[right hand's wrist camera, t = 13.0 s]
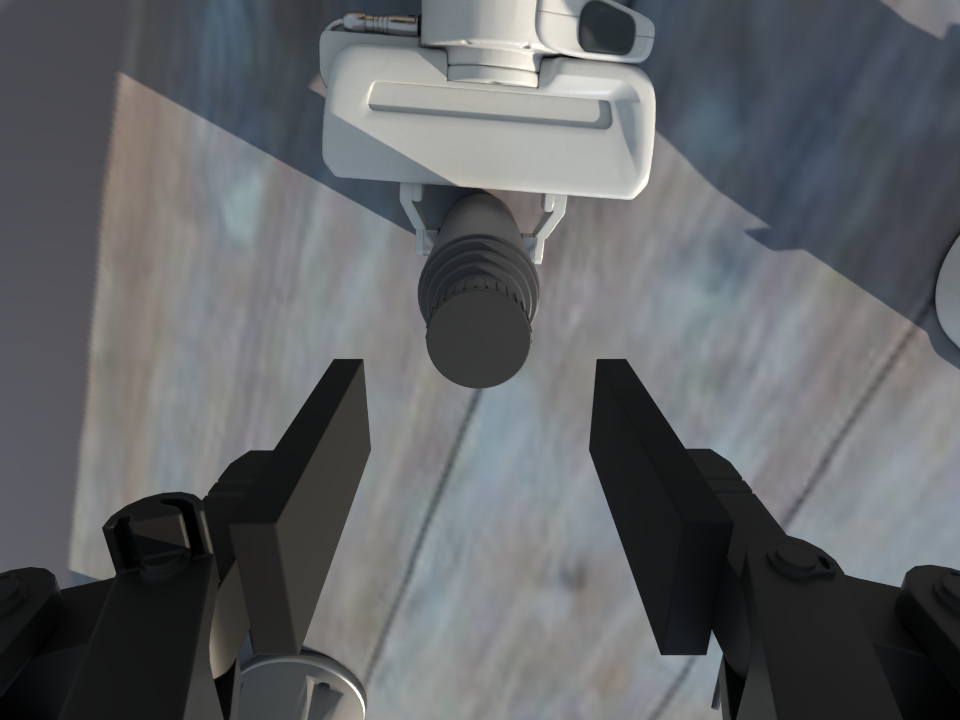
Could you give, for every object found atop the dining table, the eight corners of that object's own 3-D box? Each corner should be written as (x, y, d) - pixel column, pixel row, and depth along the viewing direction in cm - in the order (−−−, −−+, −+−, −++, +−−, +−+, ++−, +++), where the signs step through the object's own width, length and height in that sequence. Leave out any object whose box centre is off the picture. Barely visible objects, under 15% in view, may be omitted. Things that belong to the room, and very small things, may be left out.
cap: (543, 352, 21) (548, 368, 20) (452, 386, 22) (450, 404, 20) (507, 261, 20) (509, 271, 18) (412, 300, 20) (406, 312, 19)
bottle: (525, 250, 43) (577, 376, 20) (460, 276, 44) (439, 426, 21) (499, 181, 41) (524, 234, 18) (432, 210, 42) (374, 296, 19)
